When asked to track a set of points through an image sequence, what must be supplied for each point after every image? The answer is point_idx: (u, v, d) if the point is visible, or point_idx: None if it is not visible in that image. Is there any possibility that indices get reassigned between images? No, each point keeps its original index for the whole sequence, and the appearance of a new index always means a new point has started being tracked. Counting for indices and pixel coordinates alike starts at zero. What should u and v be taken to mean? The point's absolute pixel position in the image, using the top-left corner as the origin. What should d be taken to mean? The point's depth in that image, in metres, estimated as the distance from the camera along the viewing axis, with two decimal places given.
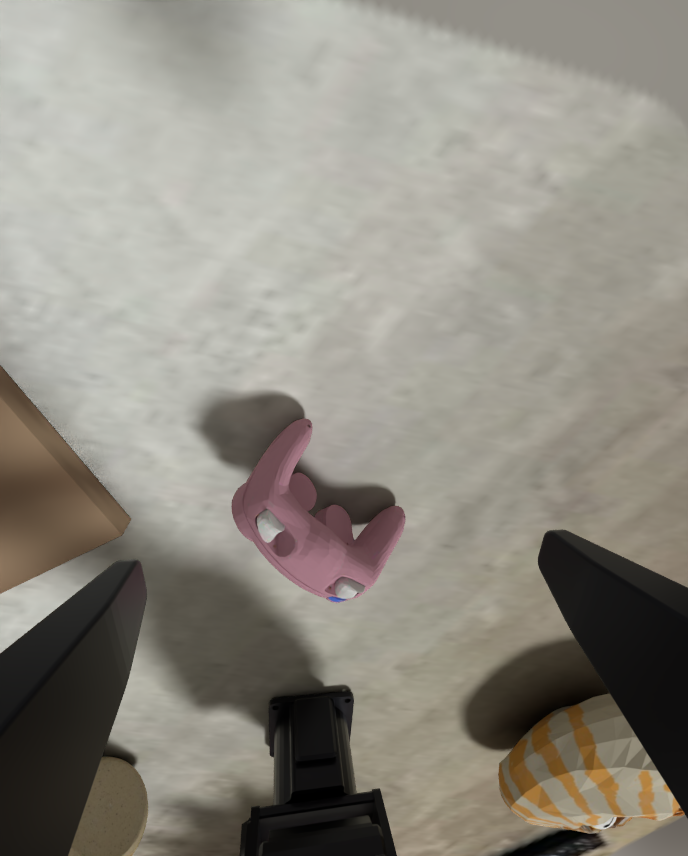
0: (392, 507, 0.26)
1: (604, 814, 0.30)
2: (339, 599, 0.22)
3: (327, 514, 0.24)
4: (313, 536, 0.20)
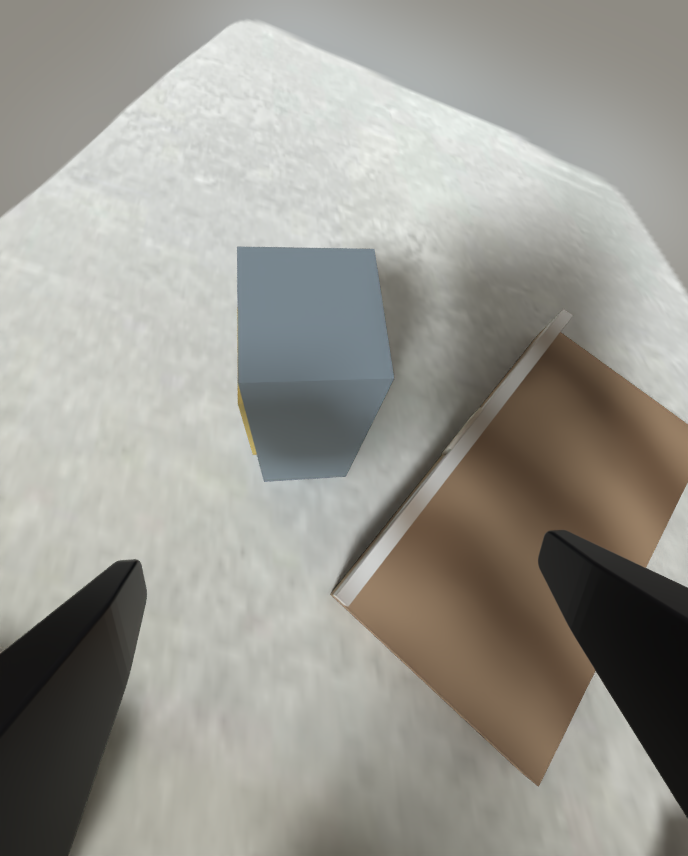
0: None
1: None
2: None
3: None
4: None
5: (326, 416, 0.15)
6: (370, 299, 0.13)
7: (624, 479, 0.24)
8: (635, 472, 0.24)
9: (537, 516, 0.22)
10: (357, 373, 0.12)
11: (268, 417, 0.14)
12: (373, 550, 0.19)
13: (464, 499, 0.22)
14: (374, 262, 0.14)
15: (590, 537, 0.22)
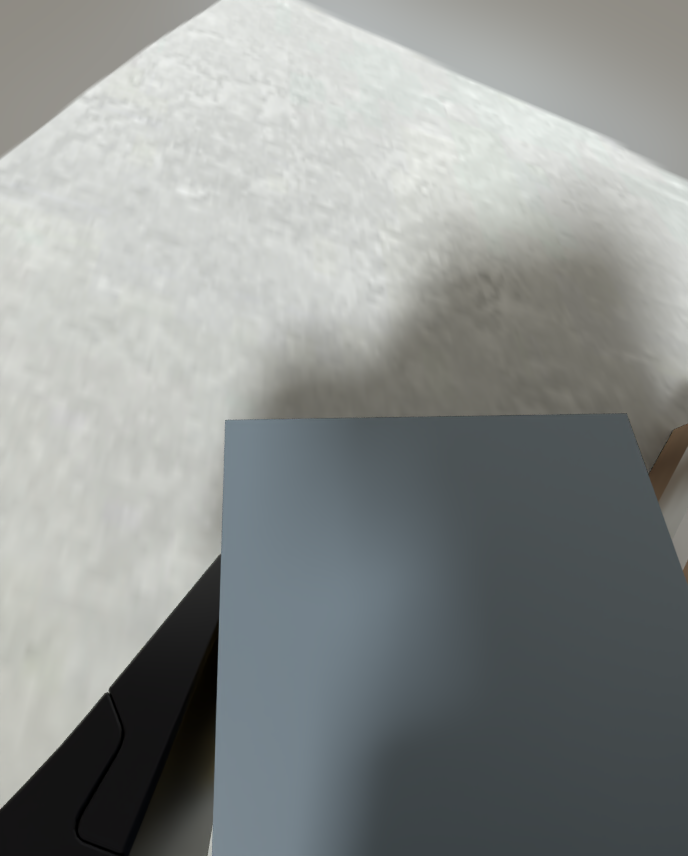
0: None
1: None
2: None
3: None
4: None
5: None
6: (662, 610, 0.04)
7: None
8: None
9: None
10: None
11: None
12: None
13: None
14: (639, 461, 0.05)
15: None
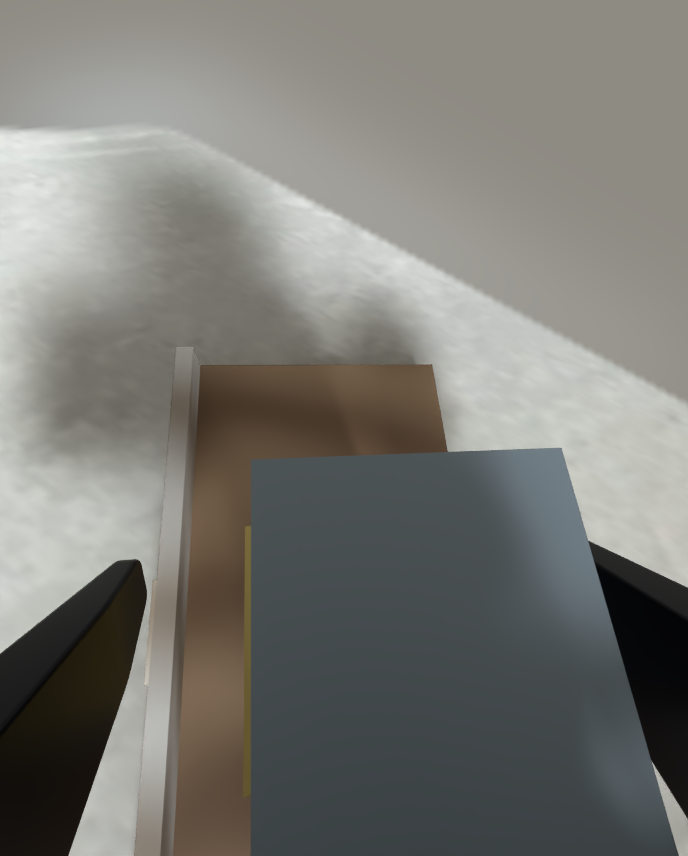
0: None
1: None
2: None
3: None
4: None
5: None
6: (578, 600, 0.05)
7: None
8: None
9: None
10: None
11: None
12: None
13: (228, 706, 0.14)
14: (568, 486, 0.06)
15: None
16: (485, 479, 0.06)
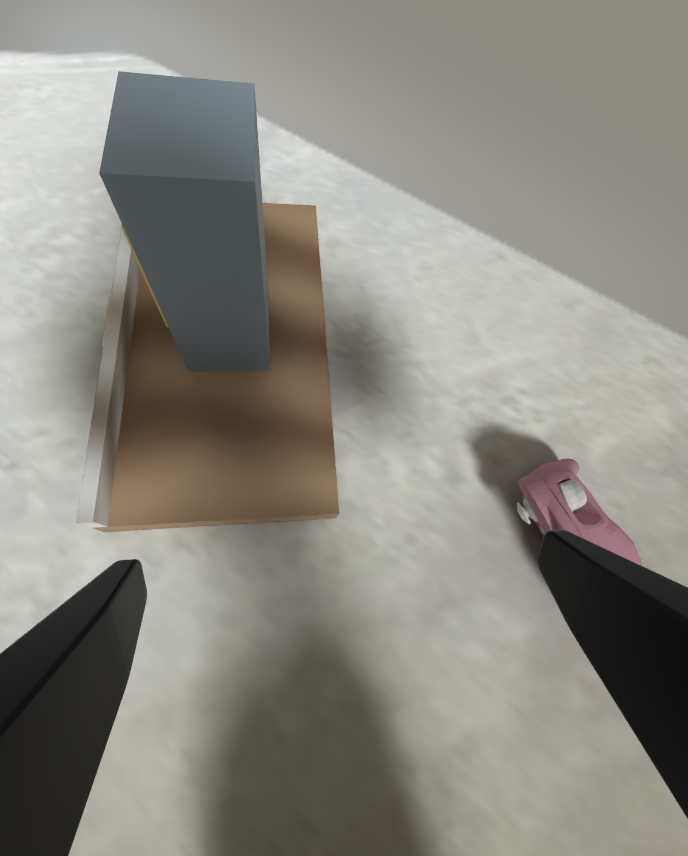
0: None
1: None
2: None
3: None
4: None
5: (211, 248, 0.15)
6: (243, 121, 0.14)
7: (273, 273, 0.27)
8: (278, 263, 0.27)
9: None
10: (218, 175, 0.13)
11: (152, 244, 0.15)
12: (86, 466, 0.19)
13: (157, 375, 0.23)
14: (252, 93, 0.15)
15: (273, 330, 0.25)
16: (216, 87, 0.15)
